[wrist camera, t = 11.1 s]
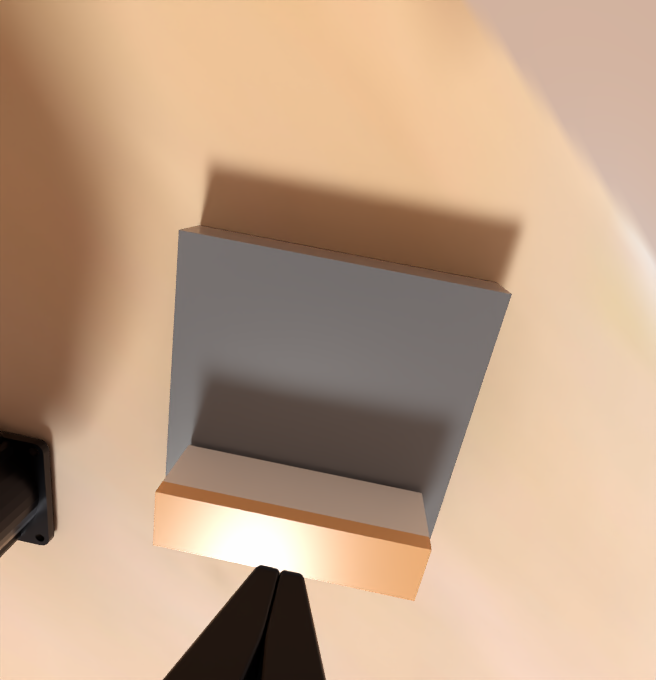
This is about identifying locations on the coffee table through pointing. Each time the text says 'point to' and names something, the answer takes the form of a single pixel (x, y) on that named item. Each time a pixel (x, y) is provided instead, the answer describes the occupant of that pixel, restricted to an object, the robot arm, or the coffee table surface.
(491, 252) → the coffee table surface
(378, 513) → the knob
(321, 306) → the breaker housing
